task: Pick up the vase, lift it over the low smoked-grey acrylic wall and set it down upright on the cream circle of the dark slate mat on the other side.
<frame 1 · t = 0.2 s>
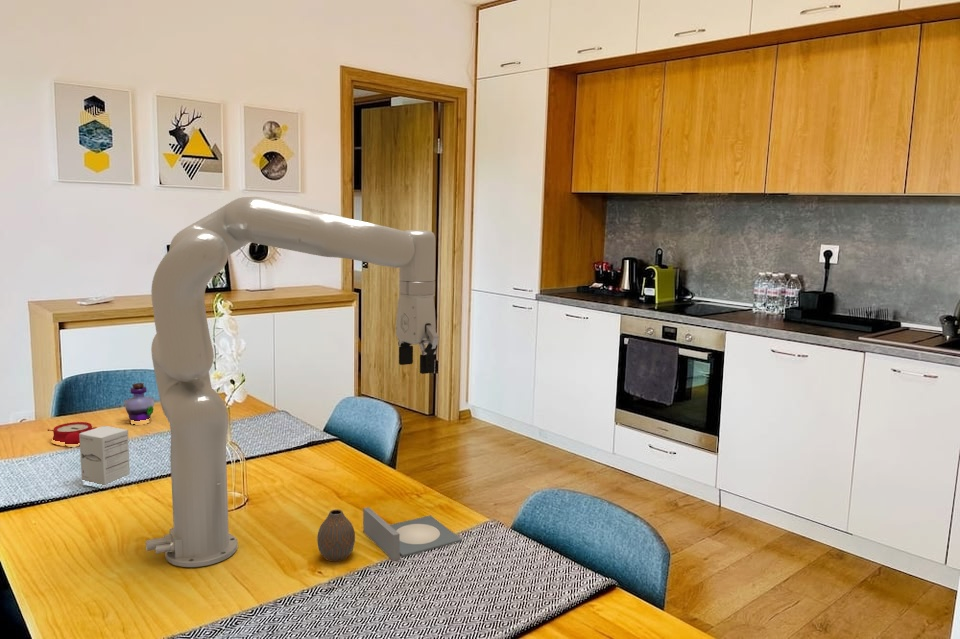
hand: (416, 368, 151), 31 cm above the table, tool pointing down, fingers open, 9 cm apart
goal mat: (417, 535, 141), on the table
supplement box: (106, 484, 164), on the table
vase: (336, 557, 131), on the table
low wall: (380, 545, 136), on the table
alarm clock: (77, 443, 192), on the table
potion bottle: (140, 423, 211), on the table
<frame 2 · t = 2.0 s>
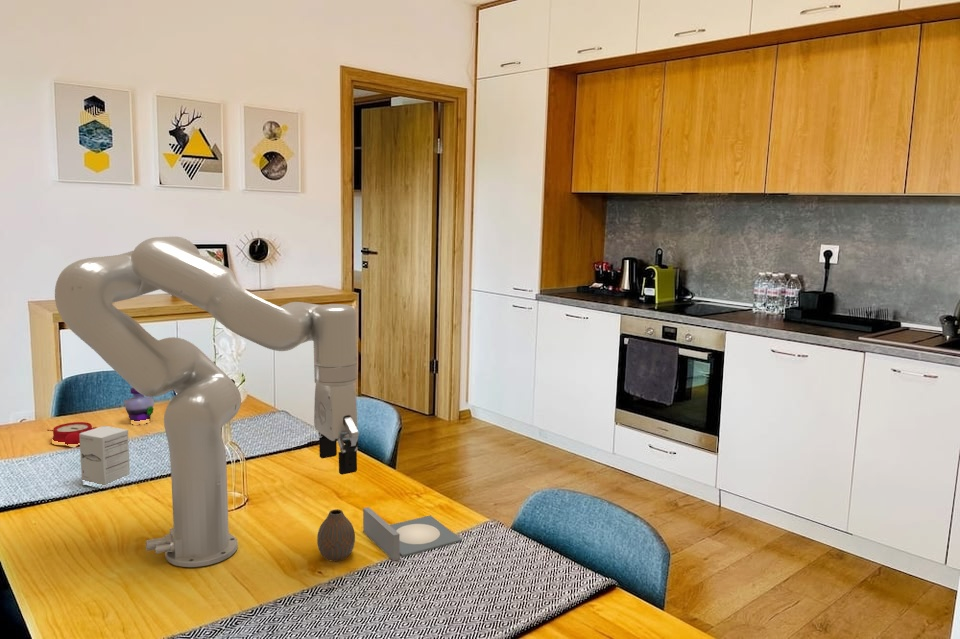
hand: (337, 464, 129), 18 cm above the table, tool pointing down, fingers open, 9 cm apart
nothing on the table moved.
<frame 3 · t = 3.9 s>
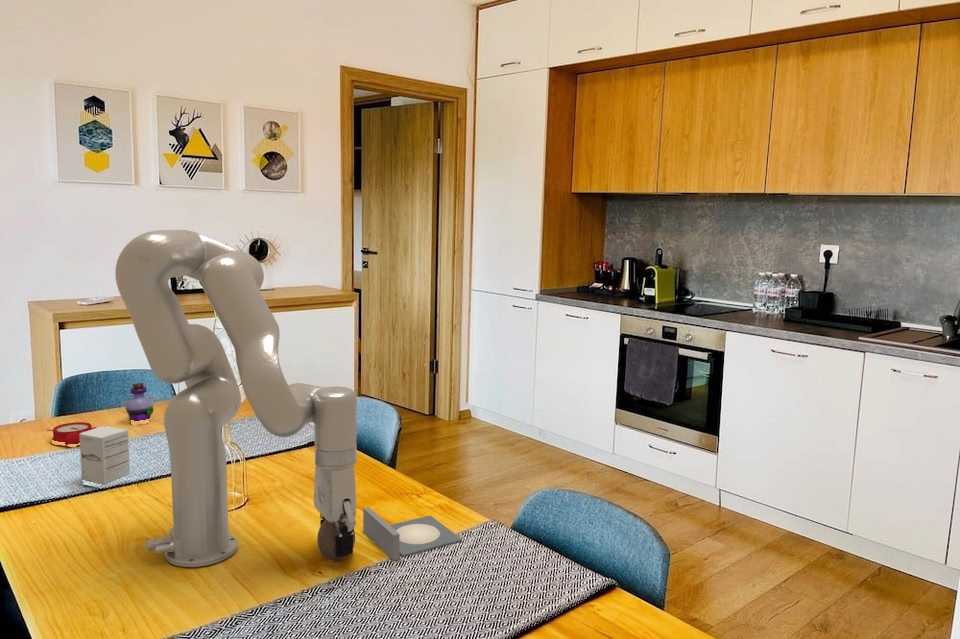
hand: (336, 546, 131), 2 cm above the table, tool pointing down, fingers closed on vase, 6 cm apart
vase: (336, 557, 131), on the table, touching gripper
everything else where it was.
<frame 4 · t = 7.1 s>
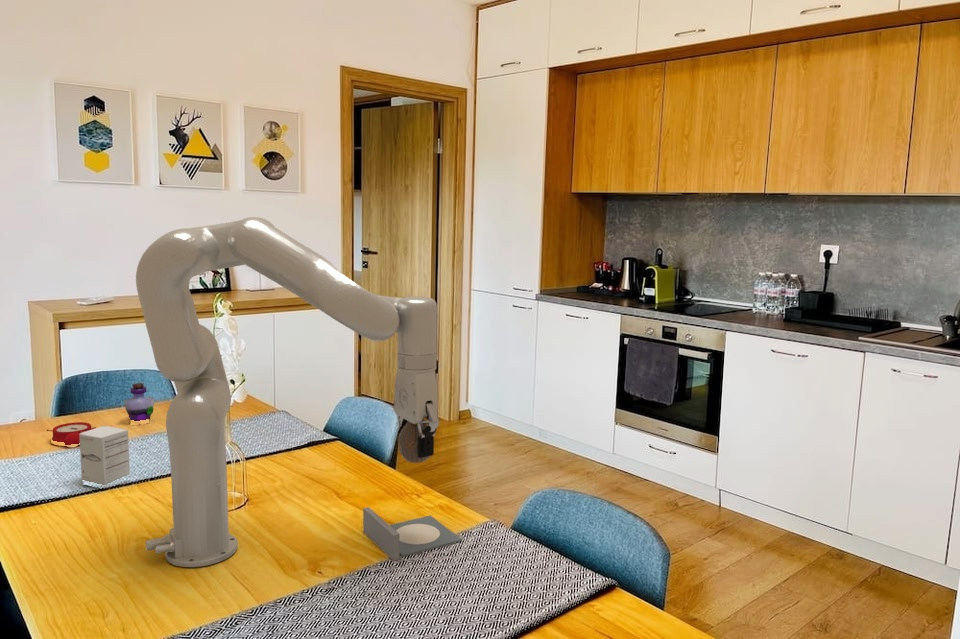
hand: (416, 449, 138), 18 cm above the table, tool pointing down, fingers closed on vase, 6 cm apart
vase: (416, 460, 138), point 16 cm above the table, touching gripper
everything else where it was.
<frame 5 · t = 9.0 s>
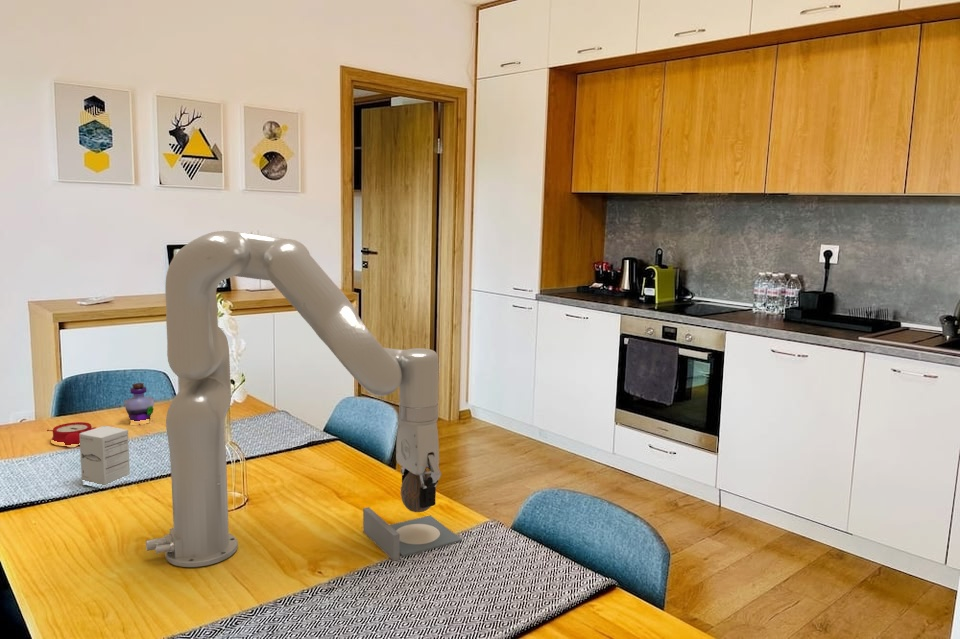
hand: (418, 498, 139), 8 cm above the table, tool pointing down, fingers closed on vase, 6 cm apart
vase: (418, 509, 140), point 6 cm above the table, touching gripper
everything else where it was.
when the fingers open (3 cm above the table, at t = 10.5 s): vase stays where it is, resting on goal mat.
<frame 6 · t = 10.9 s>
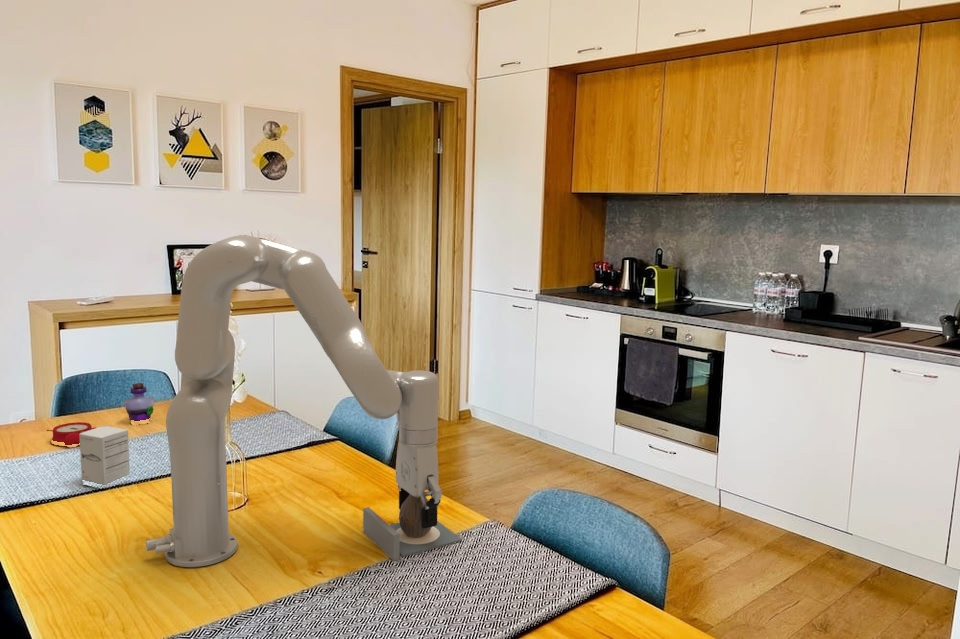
hand: (417, 517, 140), 4 cm above the table, tool pointing down, fingers open, 9 cm apart
vase: (416, 534, 140), resting on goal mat
everything else where it was.
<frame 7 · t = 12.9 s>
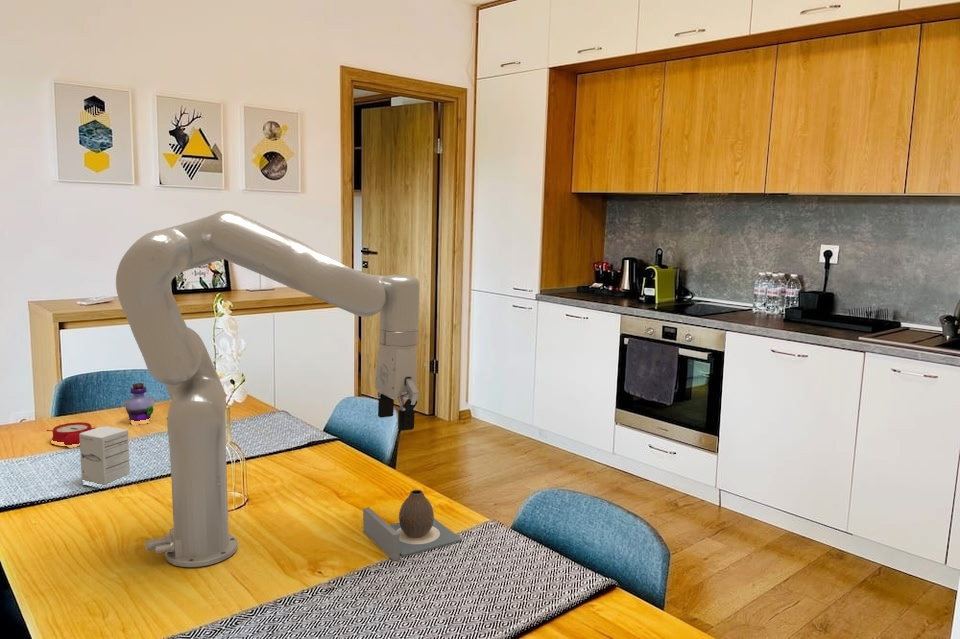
hand: (395, 423, 140), 22 cm above the table, tool pointing down, fingers open, 9 cm apart
nothing on the table moved.
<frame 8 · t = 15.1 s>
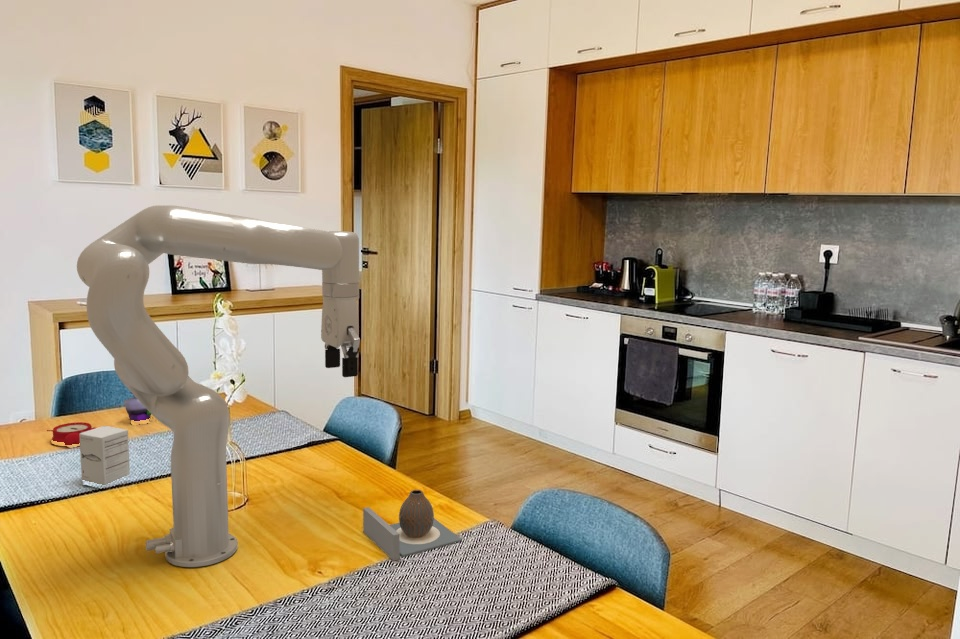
hand: (341, 371, 148), 30 cm above the table, tool pointing down, fingers open, 9 cm apart
nothing on the table moved.
at the end: vase inside the target area (0.2 cm from its centre), resting on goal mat; vase tilted 0°; the gripper is holding nothing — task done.
